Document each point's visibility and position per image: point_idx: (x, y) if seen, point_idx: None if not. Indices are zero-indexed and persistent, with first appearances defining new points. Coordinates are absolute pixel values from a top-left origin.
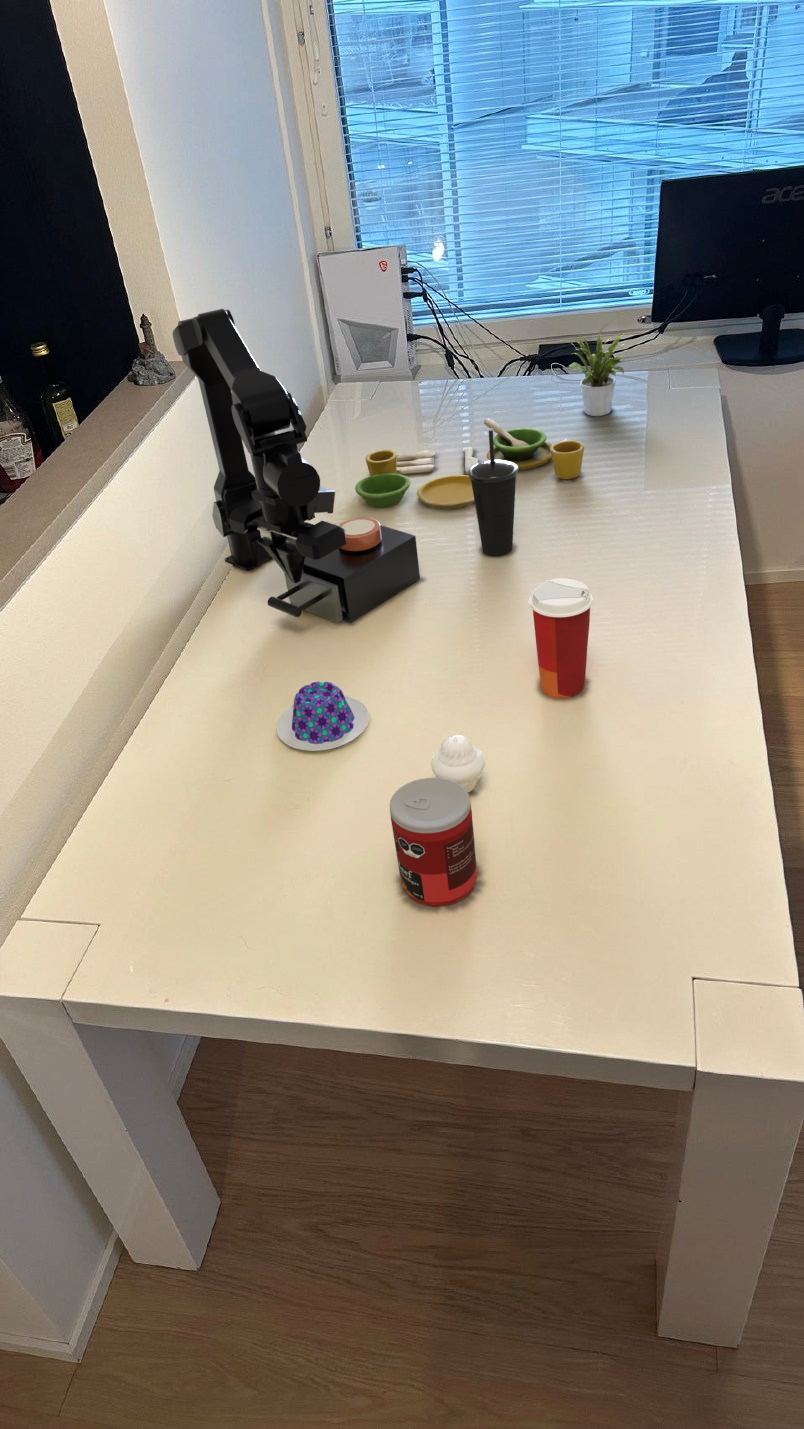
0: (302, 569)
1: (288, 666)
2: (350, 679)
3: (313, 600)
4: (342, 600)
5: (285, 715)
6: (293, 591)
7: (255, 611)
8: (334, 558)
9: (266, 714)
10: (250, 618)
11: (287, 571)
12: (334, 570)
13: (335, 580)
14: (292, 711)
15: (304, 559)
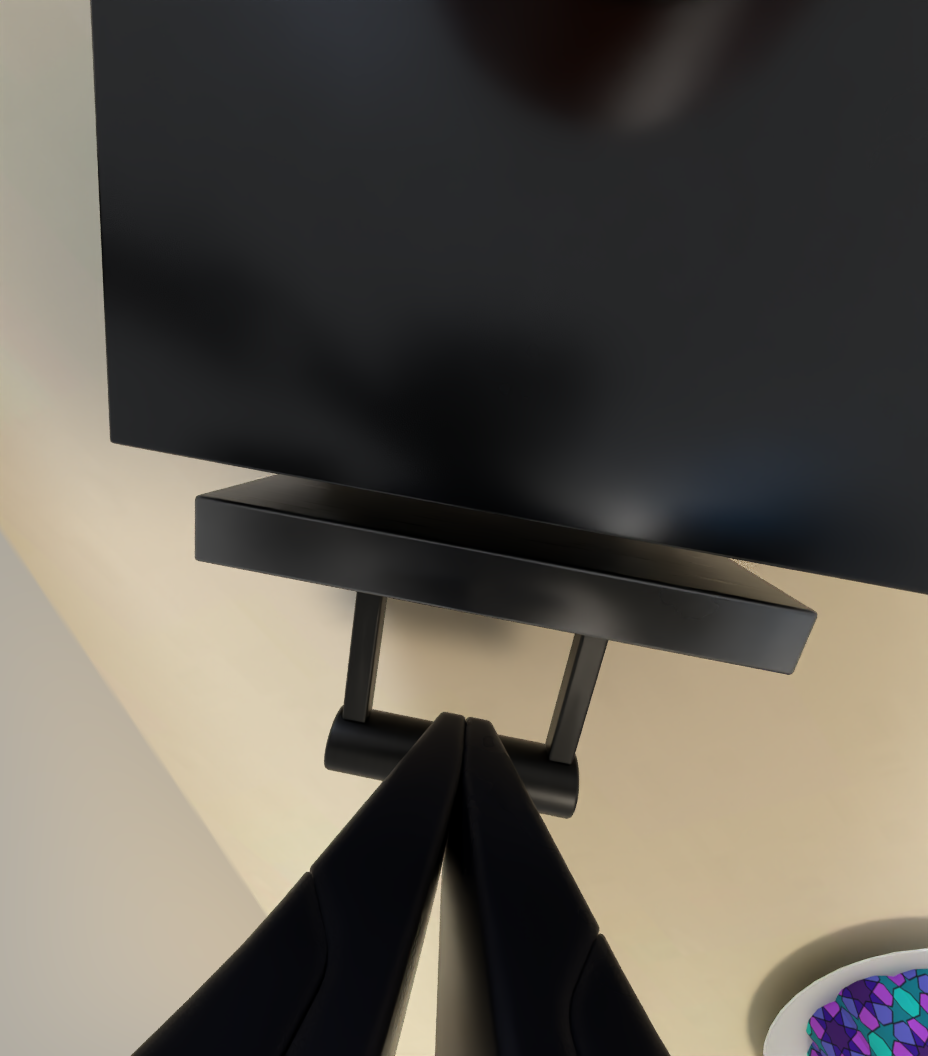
0: (533, 809)
1: (601, 828)
2: (886, 829)
3: (596, 672)
4: None
5: (772, 1050)
6: (383, 607)
7: (199, 566)
8: (590, 215)
9: (685, 1023)
10: (225, 618)
11: (439, 963)
12: (748, 485)
13: None
14: (781, 1029)
15: (618, 969)
